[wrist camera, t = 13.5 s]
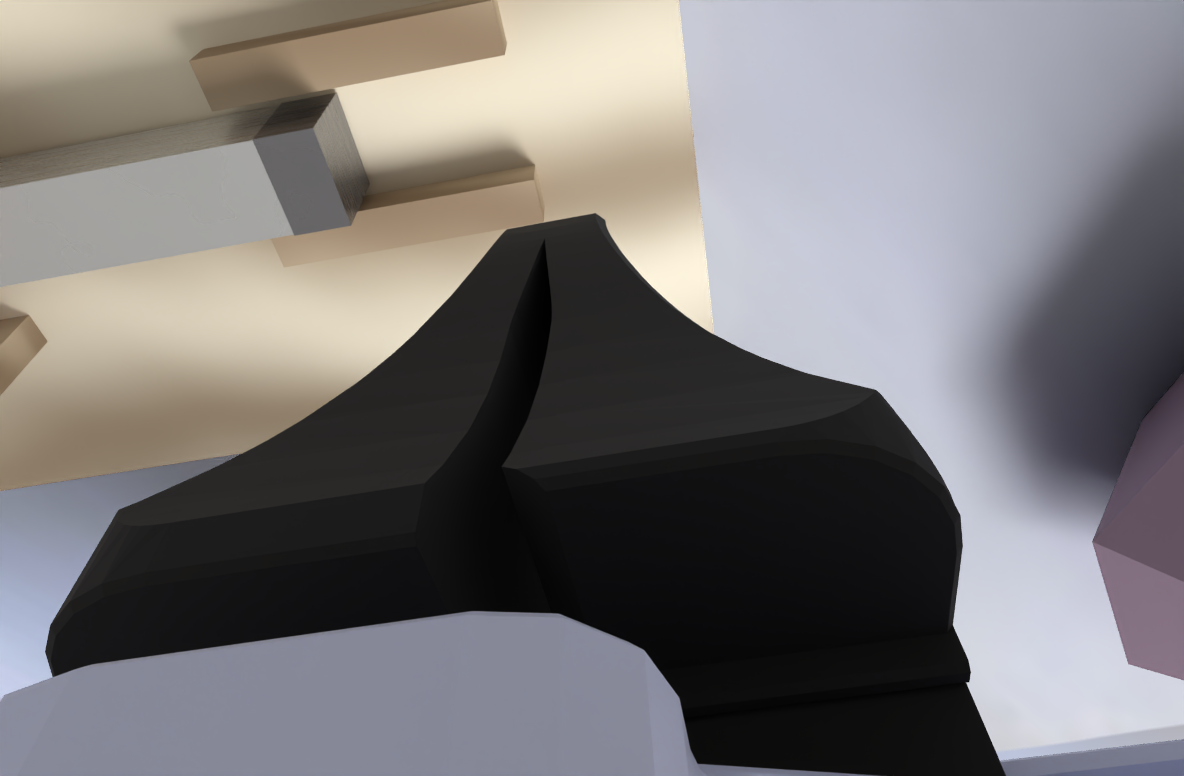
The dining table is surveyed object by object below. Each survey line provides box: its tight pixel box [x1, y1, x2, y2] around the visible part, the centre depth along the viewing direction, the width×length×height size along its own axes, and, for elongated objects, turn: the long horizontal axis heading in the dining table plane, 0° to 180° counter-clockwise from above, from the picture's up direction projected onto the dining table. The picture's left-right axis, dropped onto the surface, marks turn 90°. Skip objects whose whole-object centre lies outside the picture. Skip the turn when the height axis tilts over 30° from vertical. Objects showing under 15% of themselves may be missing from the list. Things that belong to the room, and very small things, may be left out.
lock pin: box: [0, 92, 370, 287], centre depth 17 cm, size 2×11×2 cm, turn 100°
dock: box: [0, 0, 714, 491], centre depth 18 cm, size 14×26×4 cm, turn 100°
